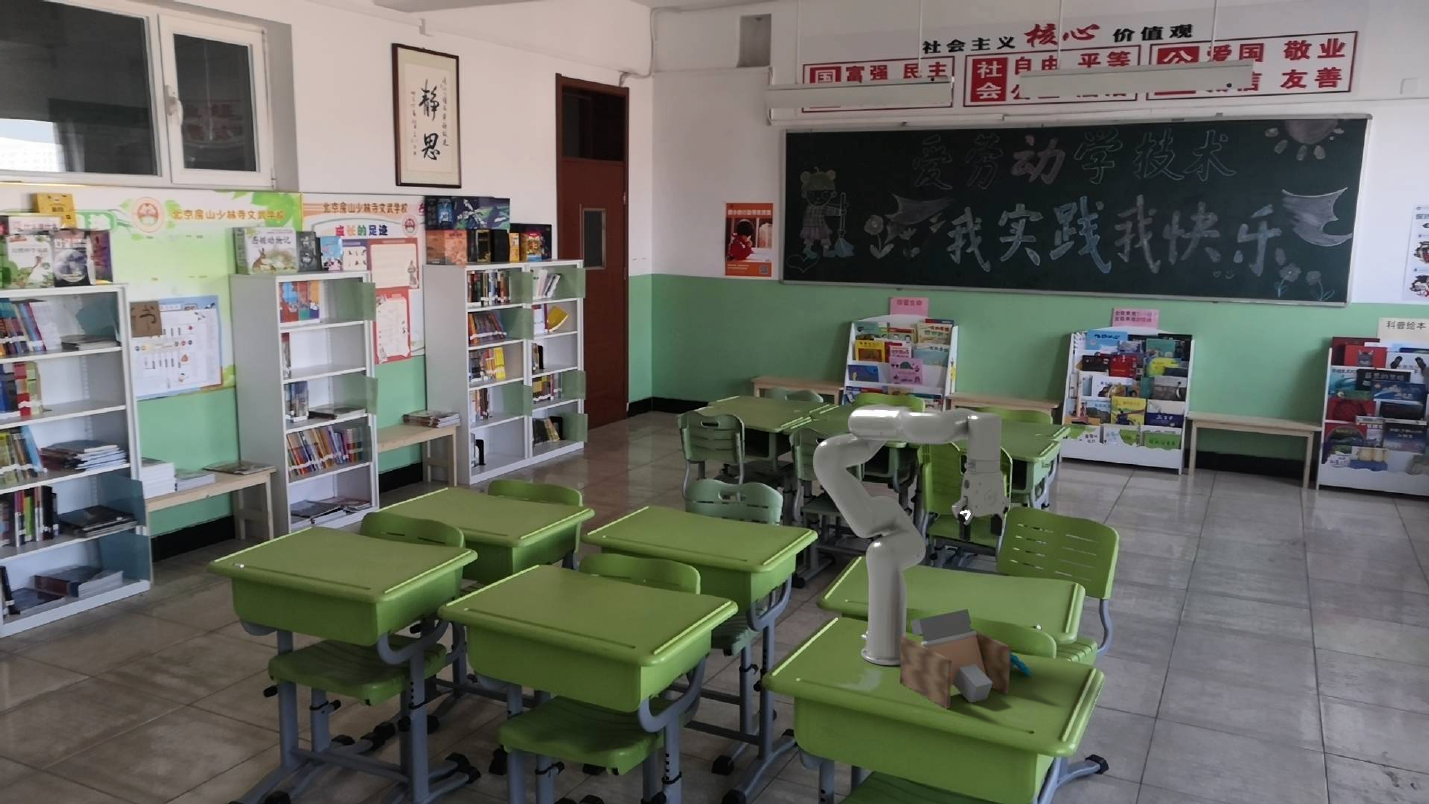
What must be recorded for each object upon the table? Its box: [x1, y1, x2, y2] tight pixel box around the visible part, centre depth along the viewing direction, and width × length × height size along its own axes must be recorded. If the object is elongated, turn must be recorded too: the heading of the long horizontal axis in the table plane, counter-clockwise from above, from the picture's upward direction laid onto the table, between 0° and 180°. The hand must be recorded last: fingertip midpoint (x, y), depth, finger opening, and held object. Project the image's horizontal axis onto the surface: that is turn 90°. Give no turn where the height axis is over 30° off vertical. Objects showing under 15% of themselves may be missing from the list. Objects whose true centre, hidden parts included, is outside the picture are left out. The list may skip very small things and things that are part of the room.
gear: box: [1010, 651, 1033, 676], centre depth 259 cm, size 11×6×10 cm
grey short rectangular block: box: [952, 664, 993, 704], centre depth 245 cm, size 5×5×6 cm
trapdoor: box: [909, 609, 986, 686], centre depth 252 cm, size 16×16×4 cm
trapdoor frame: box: [899, 628, 1012, 710], centre depth 250 cm, size 17×19×12 cm
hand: (980, 537), depth 248 cm, fingers open, 9 cm apart
